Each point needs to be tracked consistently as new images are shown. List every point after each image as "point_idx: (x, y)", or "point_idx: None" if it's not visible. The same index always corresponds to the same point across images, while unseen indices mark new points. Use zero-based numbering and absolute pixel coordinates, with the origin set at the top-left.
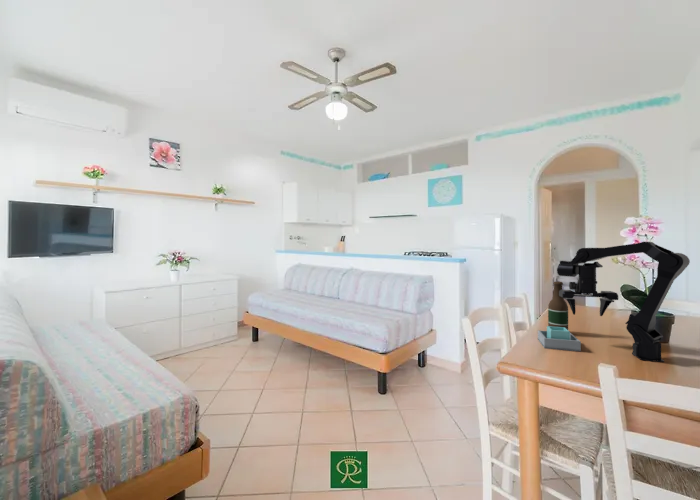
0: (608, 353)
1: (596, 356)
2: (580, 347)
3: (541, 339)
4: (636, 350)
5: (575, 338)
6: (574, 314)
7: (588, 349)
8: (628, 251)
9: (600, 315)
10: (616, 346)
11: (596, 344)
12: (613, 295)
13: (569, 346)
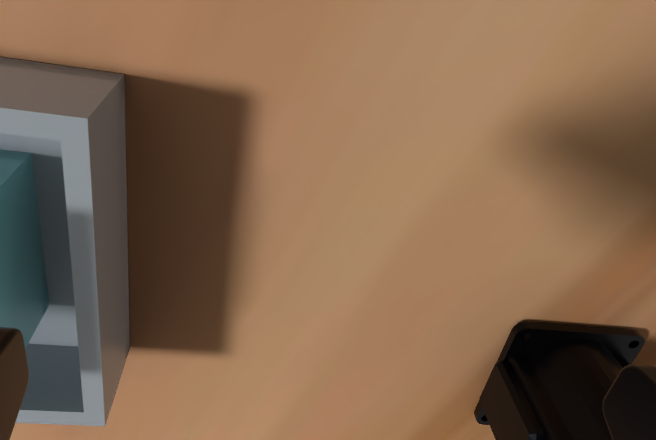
0: (342, 336)
1: (212, 408)
2: (118, 378)
3: None
4: (495, 436)
5: (82, 350)
6: (10, 387)
7: (225, 278)
8: None
9: (618, 394)
10: (561, 140)
11: (395, 108)
12: None
13: None
